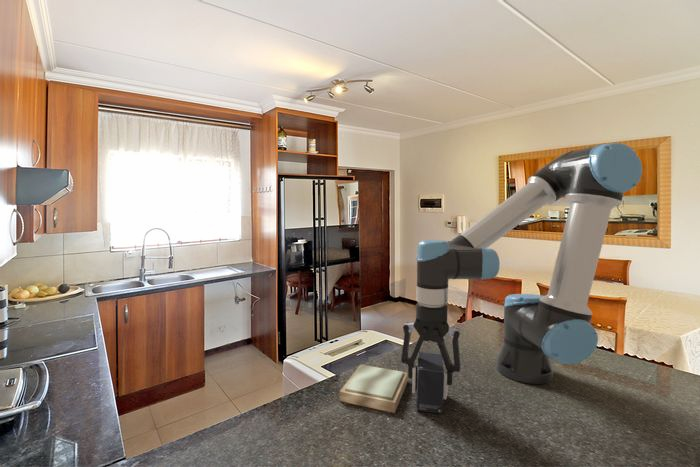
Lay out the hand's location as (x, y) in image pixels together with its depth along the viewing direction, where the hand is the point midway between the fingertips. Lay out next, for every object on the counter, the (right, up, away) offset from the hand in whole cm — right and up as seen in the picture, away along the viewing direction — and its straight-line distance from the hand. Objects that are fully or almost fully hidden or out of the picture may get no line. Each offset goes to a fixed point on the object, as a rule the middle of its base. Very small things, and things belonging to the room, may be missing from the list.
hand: (429, 393), depth 87 cm
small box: (0, -2, 0) cm, 2 cm away
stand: (-13, -2, +5) cm, 14 cm away
